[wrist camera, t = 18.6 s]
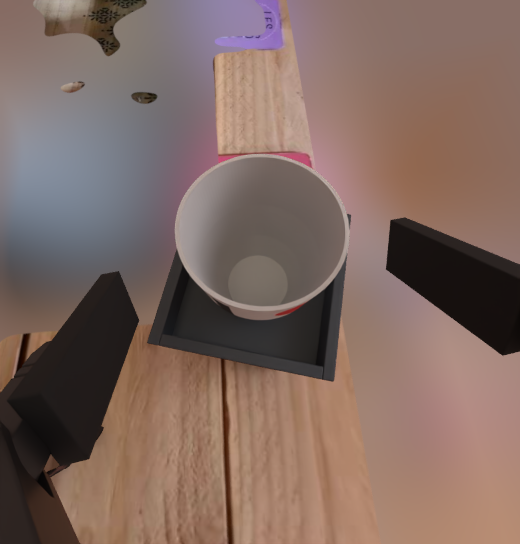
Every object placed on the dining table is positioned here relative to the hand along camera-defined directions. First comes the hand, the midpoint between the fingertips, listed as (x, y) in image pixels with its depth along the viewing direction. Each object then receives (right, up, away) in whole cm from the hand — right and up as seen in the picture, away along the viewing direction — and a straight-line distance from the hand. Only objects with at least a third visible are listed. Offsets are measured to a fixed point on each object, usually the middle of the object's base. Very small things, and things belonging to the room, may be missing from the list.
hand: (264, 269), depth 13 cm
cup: (0, -1, +9) cm, 9 cm away
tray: (0, -1, +9) cm, 10 cm away
